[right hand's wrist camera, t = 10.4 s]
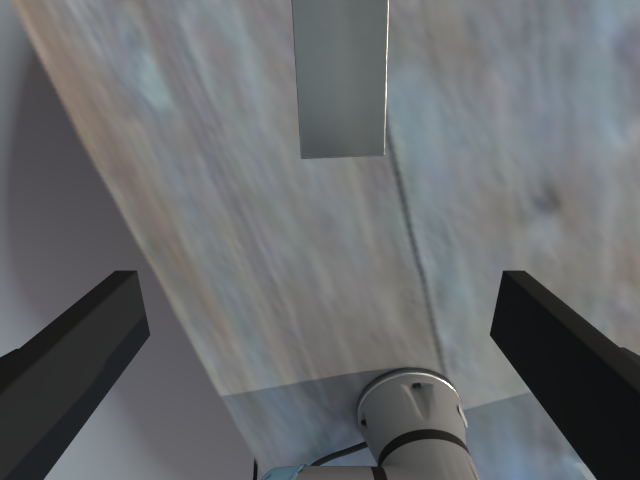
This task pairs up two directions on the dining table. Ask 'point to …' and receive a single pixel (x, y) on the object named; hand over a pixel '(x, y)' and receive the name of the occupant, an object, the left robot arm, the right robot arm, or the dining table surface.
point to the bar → (341, 76)
